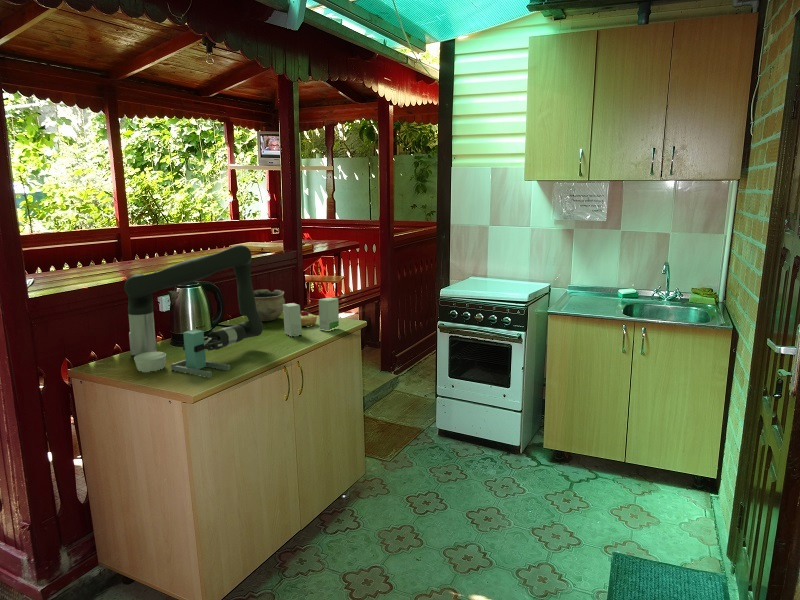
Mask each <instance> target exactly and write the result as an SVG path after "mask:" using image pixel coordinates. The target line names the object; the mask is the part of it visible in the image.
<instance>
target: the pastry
mask: <svg viewBox="0 0 800 600" xmlns="http://www.w3.org/2000/svg"><path fill="white" fill-rule="evenodd" d="M306 310H307V311H306ZM300 314H301V326H311V325H314V324H317V320H318V319H317V316H316V314H312V313H309V311H308V308H307V307H305V308H304V310H300ZM314 326H315V325H314ZM311 327H312V326H311Z"/></svg>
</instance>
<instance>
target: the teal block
mask: <svg viewBox="0 0 800 600" xmlns="http://www.w3.org/2000/svg"><path fill="white" fill-rule="evenodd" d="M182 333H183V343H184V344H183V345H184V346H185V350H184V357H185V359H186V367H188V368H194V369H199V370H202V369H203V368H205V367H206V361H207V360H206V350H205V351H204V350H202V351H199V352H194V347H195V346H198V345H201V344H202V345H203V343H204V337H205V335H204V334H205V331H204V330H200V329H191V330H187V331H184V332H182ZM185 359H184V360H185ZM206 368H207V367H206Z"/></svg>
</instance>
